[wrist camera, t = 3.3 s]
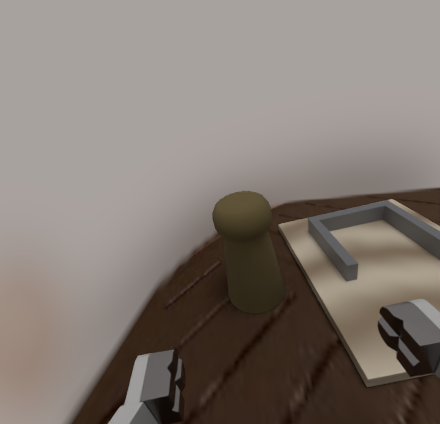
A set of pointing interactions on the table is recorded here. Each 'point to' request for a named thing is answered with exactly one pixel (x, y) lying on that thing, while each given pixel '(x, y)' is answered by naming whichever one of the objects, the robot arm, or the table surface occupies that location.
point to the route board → (367, 287)
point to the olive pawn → (249, 252)
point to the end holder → (385, 210)
